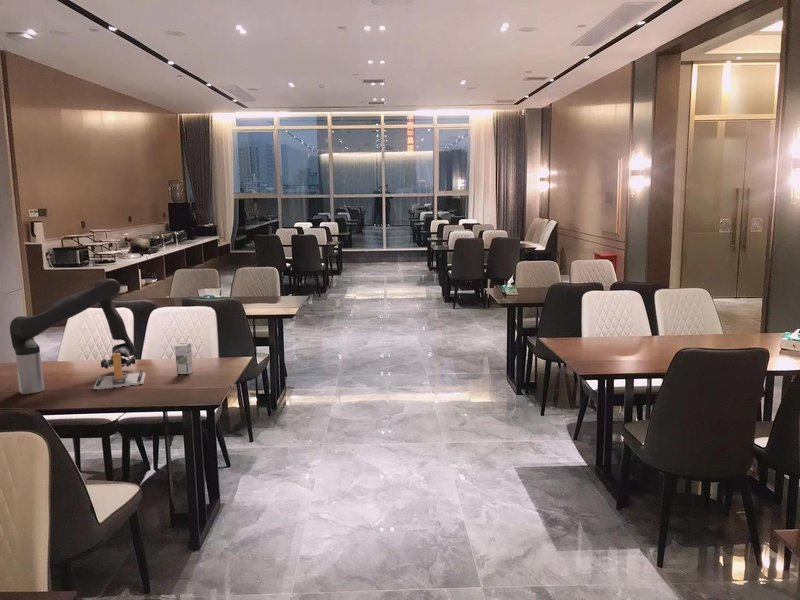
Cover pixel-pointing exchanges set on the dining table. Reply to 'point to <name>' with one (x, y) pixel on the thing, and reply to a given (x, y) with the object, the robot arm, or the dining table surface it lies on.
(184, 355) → the syrup box
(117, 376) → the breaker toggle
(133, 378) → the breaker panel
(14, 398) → the dining table surface
